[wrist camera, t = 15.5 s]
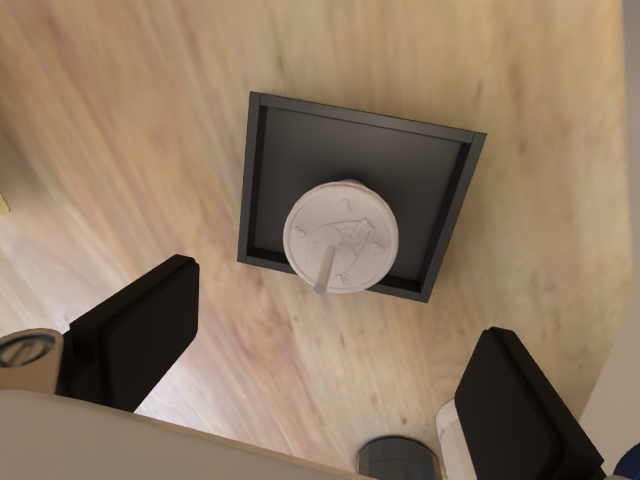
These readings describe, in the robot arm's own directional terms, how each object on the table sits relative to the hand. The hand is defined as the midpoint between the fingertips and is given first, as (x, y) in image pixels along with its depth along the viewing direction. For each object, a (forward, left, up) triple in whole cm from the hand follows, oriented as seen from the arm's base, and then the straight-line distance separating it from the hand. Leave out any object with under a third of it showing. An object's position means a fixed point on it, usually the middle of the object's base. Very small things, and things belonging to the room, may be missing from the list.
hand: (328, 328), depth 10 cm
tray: (0, 0, -17) cm, 17 cm away
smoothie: (0, 0, -17) cm, 17 cm away
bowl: (-12, +30, -17) cm, 36 cm away
